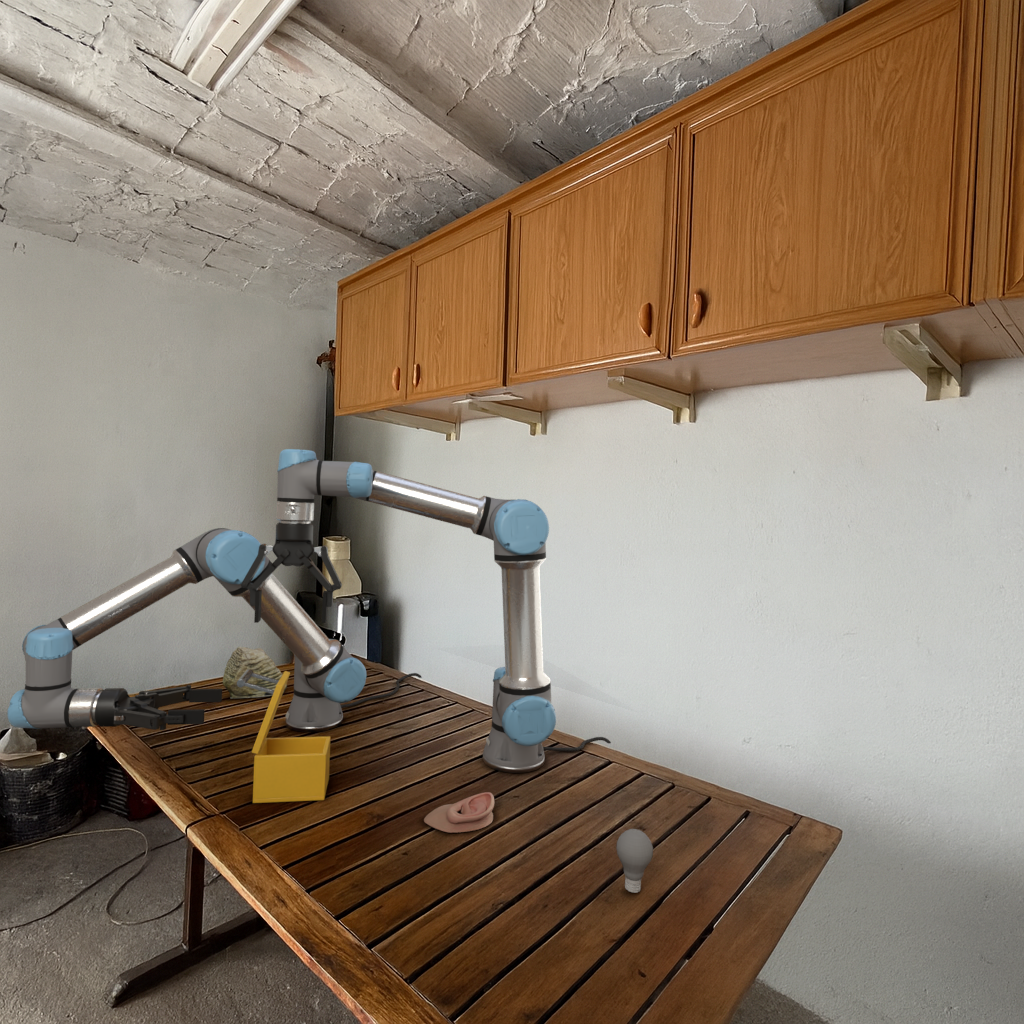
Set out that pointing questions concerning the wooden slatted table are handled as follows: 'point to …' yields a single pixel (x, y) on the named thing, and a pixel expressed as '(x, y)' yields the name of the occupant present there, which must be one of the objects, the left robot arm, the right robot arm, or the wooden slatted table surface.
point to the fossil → (258, 664)
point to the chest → (291, 769)
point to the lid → (272, 706)
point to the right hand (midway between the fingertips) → (291, 621)
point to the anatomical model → (463, 814)
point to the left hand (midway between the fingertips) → (213, 705)
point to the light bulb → (634, 857)
